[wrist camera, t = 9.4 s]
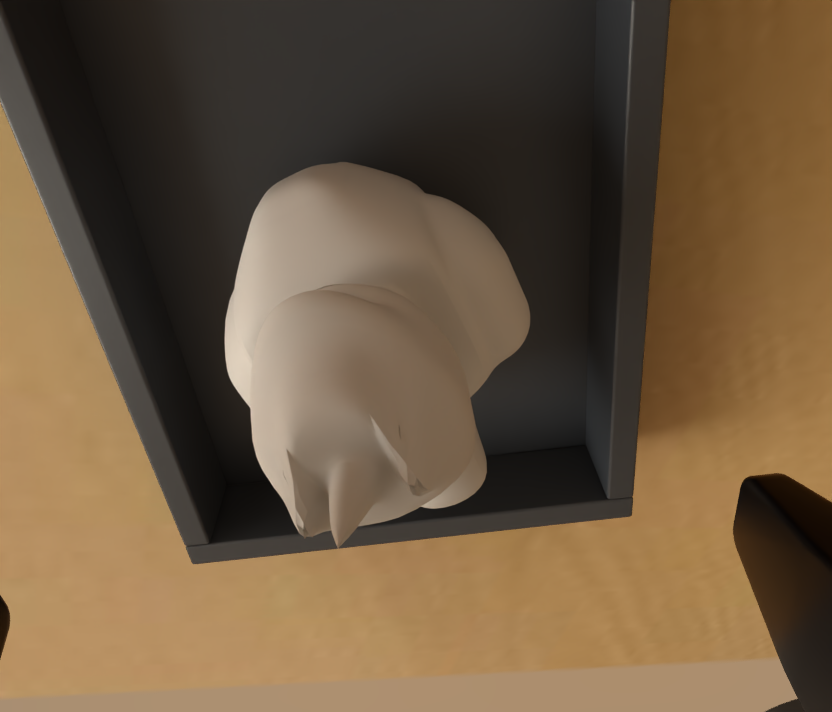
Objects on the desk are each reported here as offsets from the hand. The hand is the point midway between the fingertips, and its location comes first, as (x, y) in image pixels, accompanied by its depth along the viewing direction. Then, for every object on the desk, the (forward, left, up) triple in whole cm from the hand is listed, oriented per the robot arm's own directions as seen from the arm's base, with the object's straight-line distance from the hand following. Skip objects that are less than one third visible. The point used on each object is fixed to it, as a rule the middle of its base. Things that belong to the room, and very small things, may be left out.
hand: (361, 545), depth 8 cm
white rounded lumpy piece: (0, 0, -8) cm, 8 cm away
